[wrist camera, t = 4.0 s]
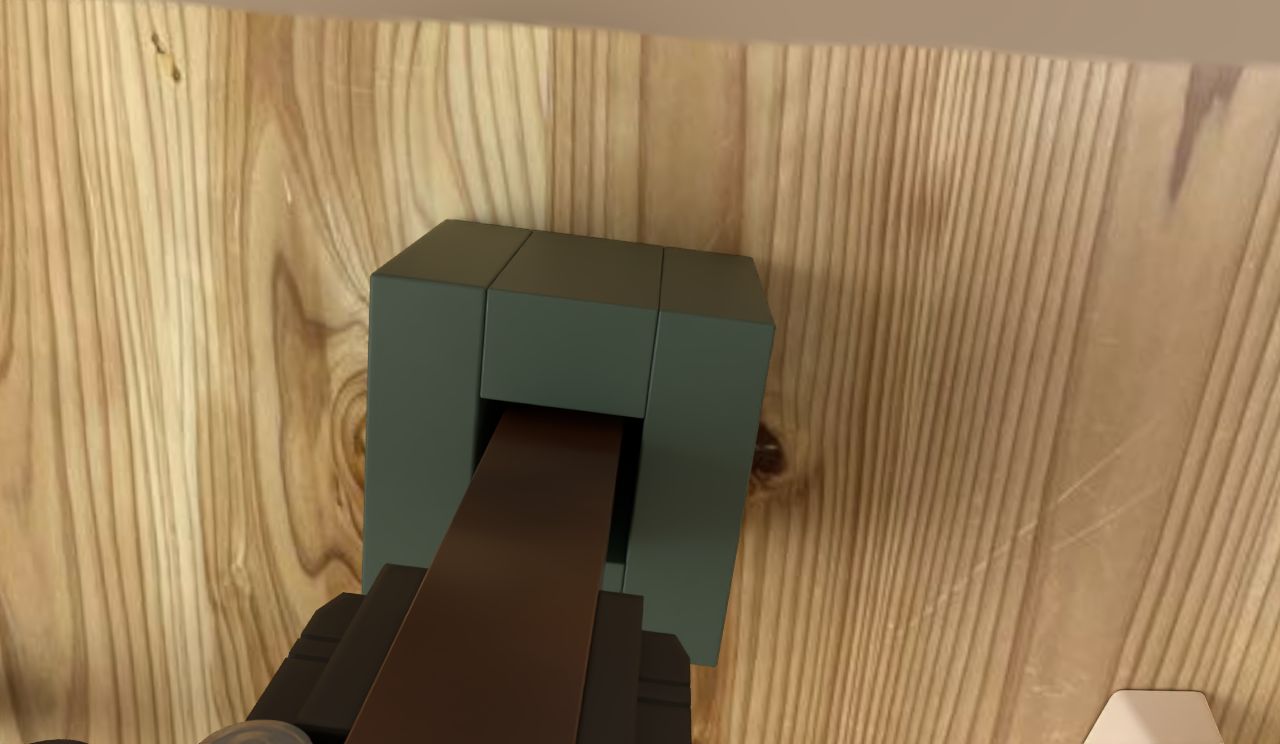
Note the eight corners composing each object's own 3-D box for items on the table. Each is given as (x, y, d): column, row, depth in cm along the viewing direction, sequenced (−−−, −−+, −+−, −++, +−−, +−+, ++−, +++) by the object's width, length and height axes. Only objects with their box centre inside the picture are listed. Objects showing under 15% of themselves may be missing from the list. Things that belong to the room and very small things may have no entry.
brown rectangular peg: (635, 344, 24) (560, 848, 9) (624, 431, 25) (539, 1030, 10) (541, 332, 24) (307, 817, 9) (533, 420, 25) (304, 1001, 10)
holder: (753, 257, 23) (776, 324, 18) (708, 531, 26) (716, 668, 20) (444, 218, 23) (368, 273, 17) (430, 496, 26) (359, 623, 20)
